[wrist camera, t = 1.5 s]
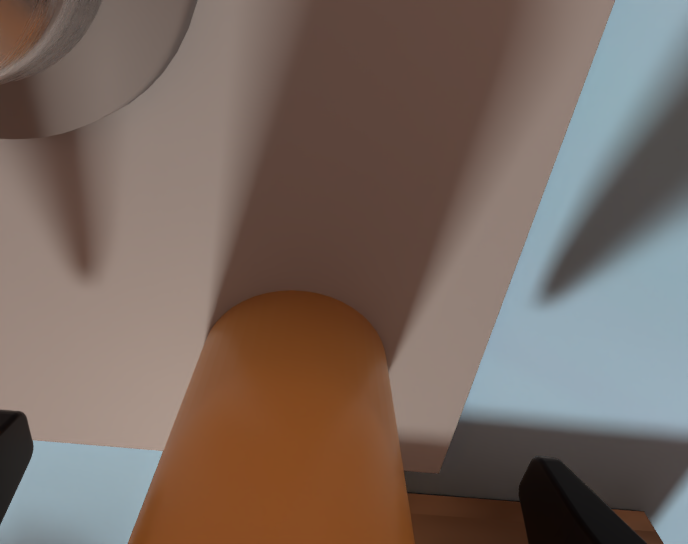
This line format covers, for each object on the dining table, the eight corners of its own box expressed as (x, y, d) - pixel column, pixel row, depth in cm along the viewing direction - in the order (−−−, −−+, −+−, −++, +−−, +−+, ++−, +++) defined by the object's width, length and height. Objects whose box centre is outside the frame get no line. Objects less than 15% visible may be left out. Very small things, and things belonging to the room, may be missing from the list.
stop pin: (403, 302, 9) (532, 828, 3) (369, 439, 11) (412, 934, 5) (203, 279, 9) (-60, 824, 3) (201, 425, 11) (40, 938, 5)
